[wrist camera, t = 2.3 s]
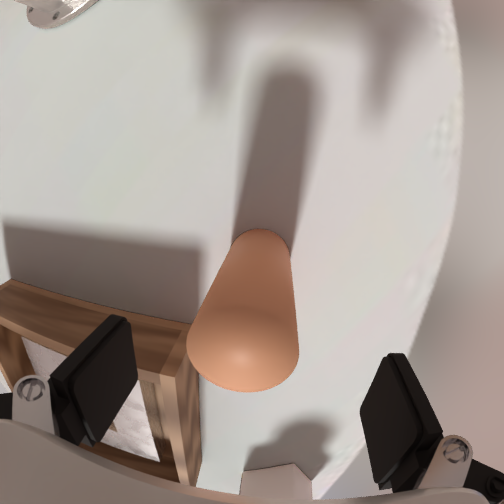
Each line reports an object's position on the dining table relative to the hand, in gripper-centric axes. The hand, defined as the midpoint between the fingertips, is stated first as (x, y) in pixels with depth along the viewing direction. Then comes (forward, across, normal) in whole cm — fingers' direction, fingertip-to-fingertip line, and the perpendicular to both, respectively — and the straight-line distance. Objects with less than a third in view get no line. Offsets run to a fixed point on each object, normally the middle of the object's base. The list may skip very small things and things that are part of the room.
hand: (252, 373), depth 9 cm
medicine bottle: (+11, -5, +29) cm, 32 cm away
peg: (+10, +1, -1) cm, 10 cm away
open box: (+10, +16, +16) cm, 25 cm away
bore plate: (+10, +16, +16) cm, 25 cm away
